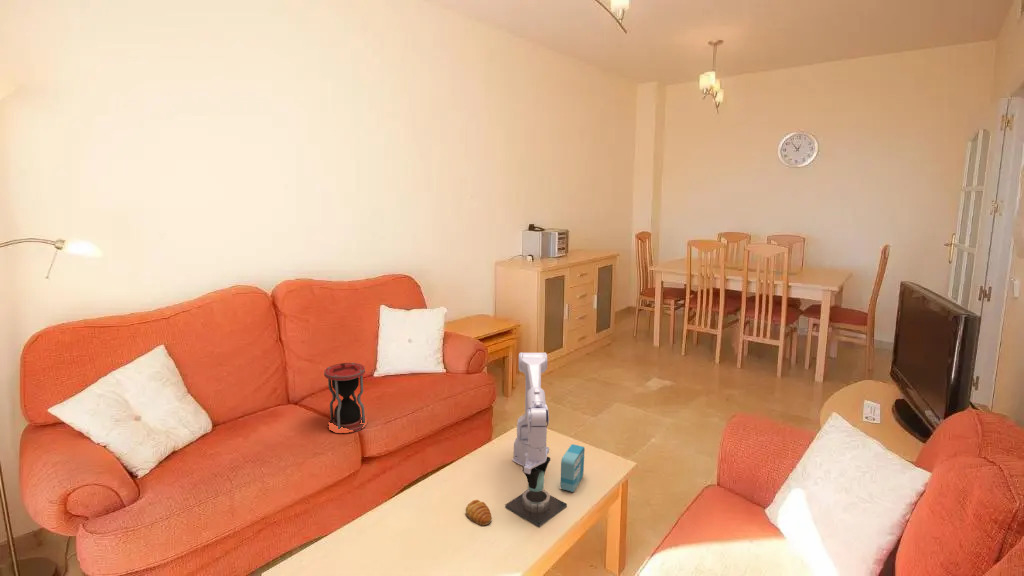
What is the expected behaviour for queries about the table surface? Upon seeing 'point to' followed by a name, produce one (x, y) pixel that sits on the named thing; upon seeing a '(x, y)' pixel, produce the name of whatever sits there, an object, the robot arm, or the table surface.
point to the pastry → (478, 512)
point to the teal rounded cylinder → (539, 483)
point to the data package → (572, 468)
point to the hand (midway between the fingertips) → (536, 483)
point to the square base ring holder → (536, 506)
